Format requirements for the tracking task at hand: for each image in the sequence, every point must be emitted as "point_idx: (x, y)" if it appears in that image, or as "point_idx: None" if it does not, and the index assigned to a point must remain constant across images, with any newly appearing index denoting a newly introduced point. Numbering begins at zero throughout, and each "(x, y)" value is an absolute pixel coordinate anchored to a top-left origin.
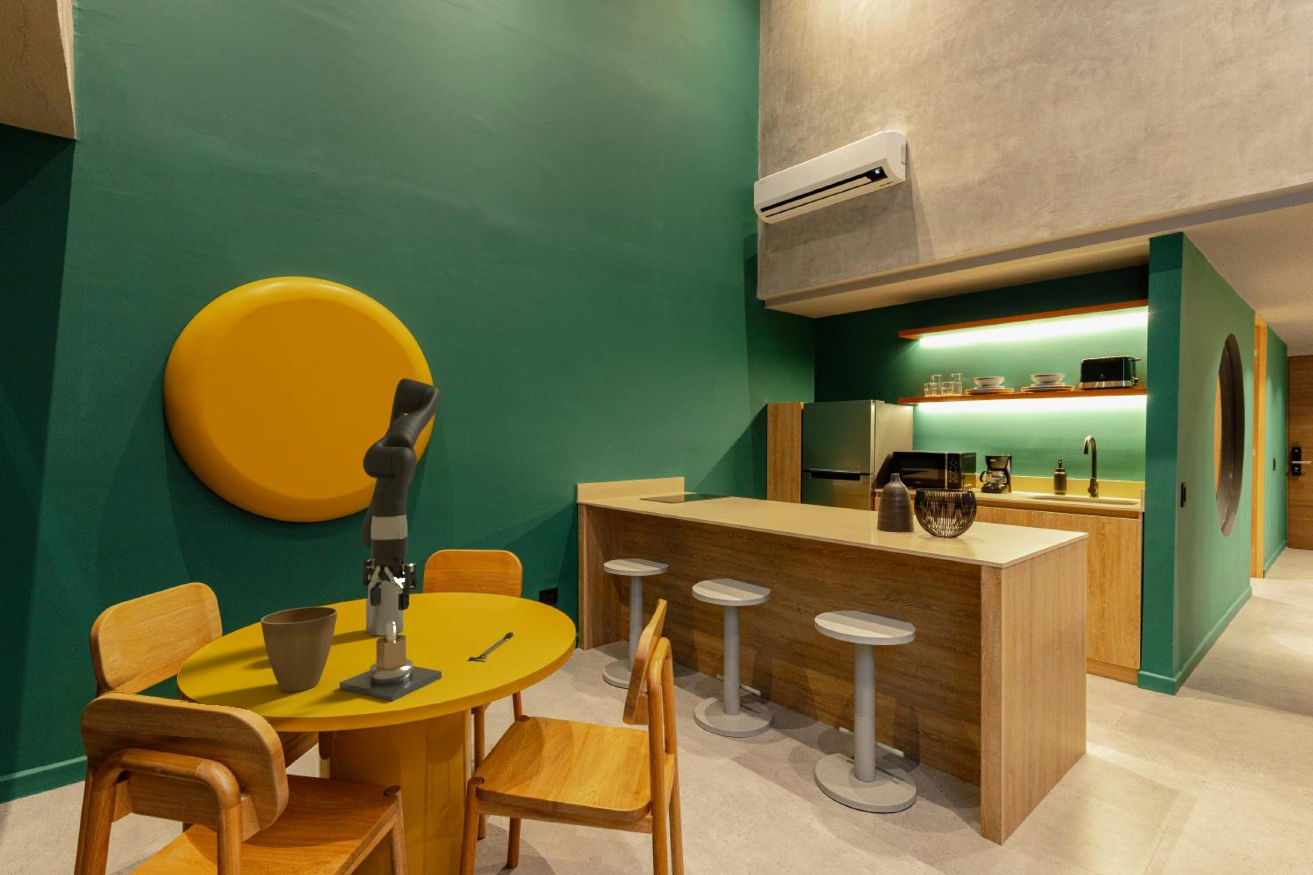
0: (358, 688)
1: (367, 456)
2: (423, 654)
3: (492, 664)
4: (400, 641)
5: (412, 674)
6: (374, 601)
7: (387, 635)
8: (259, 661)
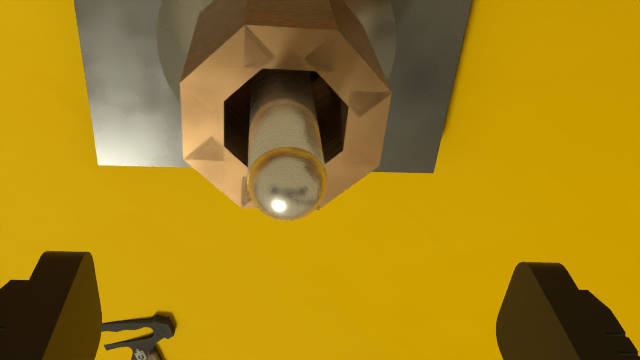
0: None
1: None
2: (396, 301)
3: None
4: (181, 113)
5: None
6: (535, 307)
7: (288, 109)
8: None
